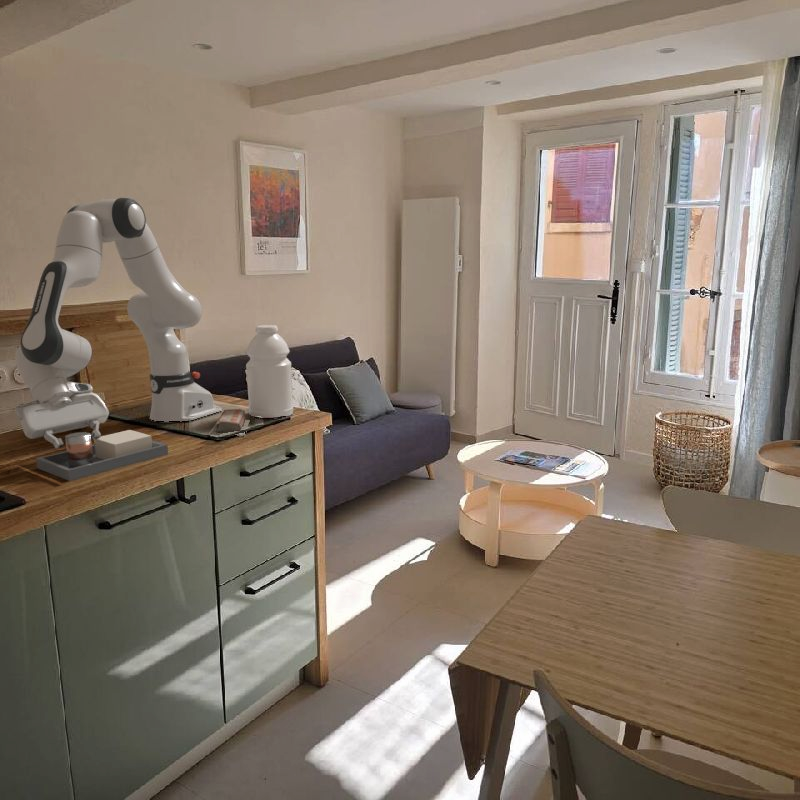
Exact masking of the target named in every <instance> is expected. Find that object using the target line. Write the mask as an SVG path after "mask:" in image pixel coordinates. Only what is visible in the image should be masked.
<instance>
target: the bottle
mask: <svg viewBox="0 0 800 800" xmlns="http://www.w3.org/2000/svg"><path fill="white" fill-rule="evenodd" d="M277 332H279V328H278V325H275V324H262V325H260V324H259V325H257V326H256V327H255V333H257V334H255V336H254V337H253V338H252V339H251V340H250V342H249V344H248V346H247V350H246V352H245V353H246V355H247V356H248V358H249V360H248V361H247V363H246V365H245V369H246V381H247V382H246V383H247V395H248V413H249V415H250V414H251V415H254V416H261V417H280V416H286V417H289V416H291V415H292V414H294V401H293V380H292V379H293V378H292V360H291V361H290V360H289V358H287V356H288V355H289V354H290V351H291V350H290V349H289V346H288V344H287V342H286V340H285V339H284V338H283V337H282V335H280V334H278V333H277Z"/></svg>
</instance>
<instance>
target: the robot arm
mask: <svg viewBox="0 0 800 800" xmlns="http://www.w3.org/2000/svg"><path fill="white" fill-rule="evenodd" d="M146 221H147V217H146V214H145V211H144V209H143V207H142V206H141V205H140V204H139V203H138V202H137V201H136V200H135V199H133V198H128V197H119V198H107V199H106V198H105V199H99V200H97V201H91V202H87V203H85V204H84V203H80V204H76V205H74V206H72V207H71V208H70V209H69V210H68V211H67V212H66V214H65V215H64V216H63V218H62V220H61V224H60V226H59V229H58V233H57V237H56V242H55V248H54V255H53V258H52V261H51V262H50V263H48V264H47V265H46V266H45V267H44V269H43V272H42V273H41V277H40V278H39V279H40V280H39V282H38V283H39V284H38V286H37V290H36V293H35V297H34V301H33V305H32V309H31V311H30V316H29V319H28V321H27V324H26V325H25V327H24V329H23V332H22V334H21V337H20V342H19V343H20V345H19V347H17V349H16V350H15V354H14V360H15V364H16V367H17V370H18V373H19V374H20V376H21V379H22V381H23V382H24V384H25V385H26V386H27V387H28V389H29V391H30V395H31V397H32V400H33V401H29V402H26V403H25V402H24V403H23V402H22V403H18V405H17V406H16V407H15V408H14V411H13V412H14V414H15V416H16V418H17V419H18V420H20V425H21V428H22V431H23V433H24V435H25V436H26V438H28V439H32V440H33V439H37V438H41V437H43V438H44V440H45V441H48V442H49V443H50V444H52V445H53V446H54V448H55V449H56V450H57V449H60V448H63V447H64V444H65V443H64V441H63V440H62V438H61V437H59V438H57V437H56V436H55V435H54V434H60V433H63V432H68V431H72V430H79V429H78V428H82V427H85V428H86V427H87V428H88V427H90V429H93V430H92V432H91V433H90V435H91V438H92V440H93V441H94V440H95V439H99V438H100V437H101V436H102V434H101V432H100V431H99V429H100V424H104V423H105V422H106V421H107V419H108V418H109V414H110V411H109V408H108V407H107V406H106V403H105V402H104V401H103V399H102V398H101V397H100V396H99V395H98V394H97V393H95V392H93V390H94V388H93V386H92V385H91V383H83V382H81V383H80V382H74V381H68V380H67V378H71V377H73V376H74V375H76V374H78V373H80V372H81V371H83V370H84V369H86V368H87V367H88V365H89V364H90V362H91V361H92V357H93V348H92V345H91V342H90V341H89V340H88V339H87V338H85V337H83V336H81V335H79V334H77V333H74V332H71V331H69V330H66V329H63V328H62V327H61V326H60V324H59V317H60V312H61V309H62V305H63V302H64V297H65V294H66V292H67V290H69V289H71V288H83V287H86V286H89V285H91V284H92V283H94V282H95V281H96V280H97V279H98V277H99V275H100V272H101V269H102V261H103V244H106V243H111V242H114V244H115V248H116V250H117V253H118V255H119V257H120V260H121V261H122V262H121V263H122V264H123V267H124V268H125V271H126V273H127V275H128V278H129V280H130V281H131V283H132V284H133V285H135V286H136V287H137V288H139V289H140V290H142V291H143V292H139V293H136V294H134V295H132V296H131V297H130V298H129V300H128V302H127V306H126V312H127V315H128V318H129V319H130V321H131V322H132V323H134V325H136V327H137V328H138V329H139V332H140V333H141V334H142V337H143V339H144V342H145V344H146V348H147V350H148V351H147V352H148V357H149V366H150V374H149V384H150V390H151V409H150V415H149V420H150V419H151V420H150V421H152V420H154V421H153V422H156V421H164V422H163V423H170V422H169V421H180V422H182V421H188V420H193V419H197V418H200V417H203V416H206V417H208V416H207V415H209V414H213V413H216V412H219V411H222V412H223V409H222V407H221V406H219V405H216V404H215V400H214V396H213V395H212V393H211V392H210V391H209V390H207V389H205V388H204V387H202V386H201V385H199V384H198V383H196V382H195V380H194V379H196V380H197V379H200V377H201V374H200V372H197V371H193V372H192V371H189V364H188V354H187V348H186V345H185V344H184V343H183V342H182V341H181V340H180V339H179V338H178V337H177V335H176V332H175V330H184V329H188V328H193V327H194V326H196V325H197V324H199V322H201V318H202V316H203V315H202V314H203V310H202V305H201V303H200V301H199V299H198V298H197V297H196V296H194V295H193V294H191V293H190V292H188V291H187V290H186V289H185V288H184V287H183V285H181V284H180V283H179V282H178V280H177V279H176V278H175V276H174V275H173V274H172V272H171V270H170V269H169V267H168V266H167V263H166V261H165V259H164V257H163V254H162V252H161V250H160V247H159V245H158V242H157V240H156V238H155V236H154V234H153V231H152V230H151V228H150V226H149V225H148V224H147V222H146ZM219 413H220V412H219ZM216 414H217V413H216ZM213 415H214V414H213ZM203 418H204V417H203ZM200 419H201V418H200ZM197 420H198V419H197Z"/></svg>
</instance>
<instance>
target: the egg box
mask: <svg viewBox="0 0 800 800" xmlns="http://www.w3.org/2000/svg"><path fill="white" fill-rule="evenodd" d="M93 441H94V444H95V451H96V457H98V458H101V459H104V460H106V459H110V458H114V457H118V456H122V455H125V454H129V453H133V452H137V451H141V450H145V449H149V448H152V441H153V439H152V435H149V434H146V433H143V432H139V431H136V430H132V429H127V430H122V431H120V432H114V433H110V434H106V435H101V437H100V438H99V439H95V440H94V439H93Z"/></svg>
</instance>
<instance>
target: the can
mask: <svg viewBox="0 0 800 800" xmlns="http://www.w3.org/2000/svg"><path fill="white" fill-rule="evenodd" d="M64 439H65V446H66V447H65V448H66V451H67V457H68V463H69V468H70V469H71V468H75V467H79V466H83V465H87V464H91V463H94V461H93V450H92V445H93V443H92V436H91V433H90V432H86V431H84V432H83V431H82V432H79V431H78V432H74V433H69V434H66V435H65V437H64Z"/></svg>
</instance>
